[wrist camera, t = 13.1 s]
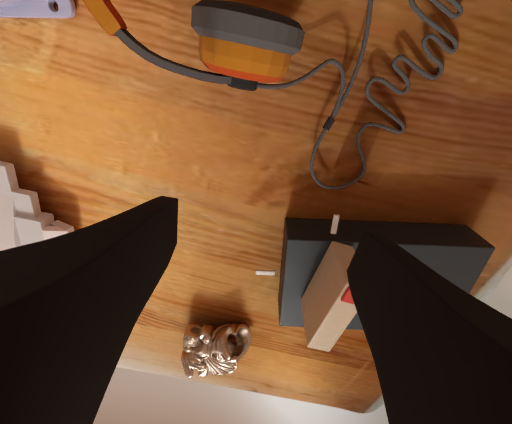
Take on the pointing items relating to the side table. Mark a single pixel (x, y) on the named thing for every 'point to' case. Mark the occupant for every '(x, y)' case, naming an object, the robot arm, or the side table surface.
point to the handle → (328, 299)
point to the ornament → (214, 348)
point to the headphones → (268, 52)
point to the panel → (350, 233)
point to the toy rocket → (23, 214)
